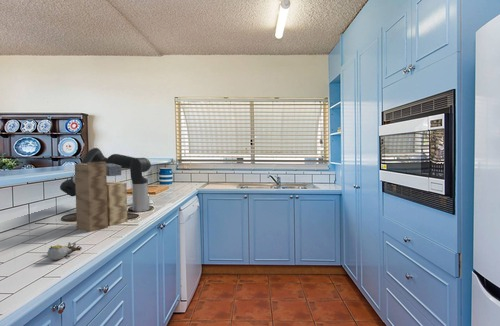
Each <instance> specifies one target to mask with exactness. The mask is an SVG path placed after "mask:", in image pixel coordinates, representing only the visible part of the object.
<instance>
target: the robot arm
mask: <svg viewBox="0 0 500 326" xmlns="http://www.w3.org/2000/svg"><path fill="white" fill-rule="evenodd" d="M87 162H106V164H109V163H112V164H116V165H120V166H122V167H121V170H128V169H130V171H129V172H130V179H131V187H132V188H131V191H132V193H131V196H132V211H133V212H135V213H136V212H137V213H138V212H139V213H141V212H146V211H148V210H150V194H149V189H148V187H149V185H148V183H149V182H148V178H147V177H145V176H143V173H146V172H148V171H149V170H150V169H151V167H152V165H151V162H150V160H149V159H148V158H146V157H133V156H130V155H124V154H119V153H113V154H110V155H109V156H108V157H106V156H104V154H103V152H102V151H101V150H100V148H98V147H93V148H91V149H89V150H88V151H87V152H86V154H85V156H84V157H83V159H82V161H81V163H80V164H84V163H87ZM73 175H74V174H73ZM59 189H60V191H62V192H63V193H65V194H67V195H68V196H69V197H76V188H75V175H74V177H72V176H71V178H68V179H67V180H64V181H63V182H62V183H61V184H60V186H59Z"/></svg>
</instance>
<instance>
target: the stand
mask: <svg viewBox="0 0 500 326" xmlns="http://www.w3.org/2000/svg"><path fill="white" fill-rule="evenodd" d="M74 173H75V188H76V196H75V210H76V211H75V215H76V218H75V219H76V229H79V230H82V231H85V232H89V233H91V232H94V231H95V232H96V231H101V230H104V229H107V228H109V227H108V226H109V225H108V218H107V182H108V181H107V176H106V162H87V163H84V164H81V163H75V164H74Z"/></svg>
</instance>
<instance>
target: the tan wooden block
mask: <svg viewBox="0 0 500 326" xmlns="http://www.w3.org/2000/svg"><path fill="white" fill-rule="evenodd" d="M127 193H128V189H127V182H121V181H120V182H119V181H107V218H108V226H110V227H112V226H116V225H118V224H124V223H128V195H127Z"/></svg>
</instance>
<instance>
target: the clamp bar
mask: <svg viewBox="0 0 500 326" xmlns="http://www.w3.org/2000/svg"><path fill="white" fill-rule="evenodd" d="M121 167H122V166H120V165H116V164H112V163H109V164H106V177H115V176H116V177H117V176H121V175H122V169H121Z"/></svg>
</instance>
